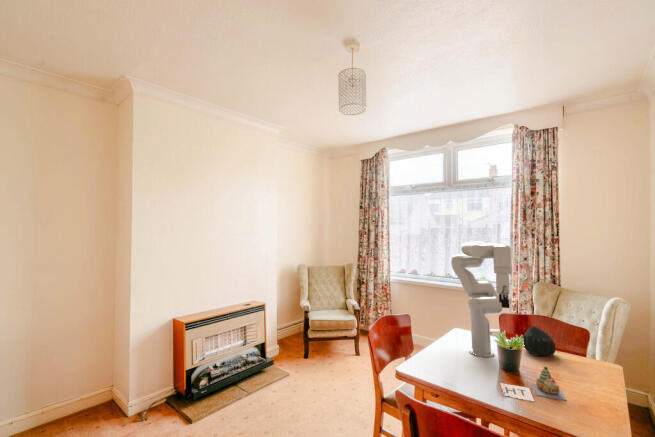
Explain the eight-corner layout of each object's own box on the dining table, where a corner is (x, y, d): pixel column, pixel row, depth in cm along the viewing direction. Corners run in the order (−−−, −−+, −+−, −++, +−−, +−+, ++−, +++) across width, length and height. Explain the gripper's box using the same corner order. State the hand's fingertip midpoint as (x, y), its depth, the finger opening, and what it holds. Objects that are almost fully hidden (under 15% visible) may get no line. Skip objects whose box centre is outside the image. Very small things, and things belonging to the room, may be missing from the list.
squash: (559, 352, 154) (552, 324, 164) (525, 349, 161) (520, 322, 170) (555, 362, 163) (549, 335, 173) (523, 359, 170) (519, 333, 179)
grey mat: (532, 384, 135) (532, 383, 135) (559, 388, 130) (559, 387, 130) (537, 395, 125) (537, 394, 125) (566, 400, 121) (566, 399, 121)
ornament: (562, 395, 125) (561, 371, 125) (550, 396, 124) (548, 372, 124) (546, 385, 133) (545, 362, 133) (534, 386, 132) (533, 364, 132)
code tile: (500, 383, 136) (500, 382, 136) (528, 388, 131) (528, 387, 131) (503, 396, 126) (503, 395, 126) (534, 401, 121) (534, 401, 121)
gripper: (492, 267, 156) (493, 300, 155) (495, 272, 140) (497, 309, 139) (508, 268, 152) (510, 301, 152) (514, 273, 137) (516, 310, 136)
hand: (504, 305), depth 146 cm, fingers open, 9 cm apart
